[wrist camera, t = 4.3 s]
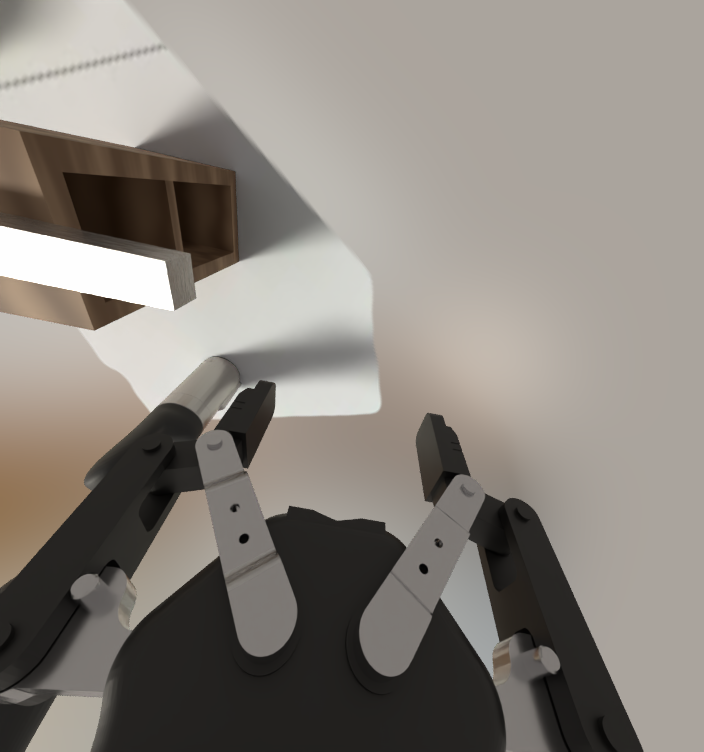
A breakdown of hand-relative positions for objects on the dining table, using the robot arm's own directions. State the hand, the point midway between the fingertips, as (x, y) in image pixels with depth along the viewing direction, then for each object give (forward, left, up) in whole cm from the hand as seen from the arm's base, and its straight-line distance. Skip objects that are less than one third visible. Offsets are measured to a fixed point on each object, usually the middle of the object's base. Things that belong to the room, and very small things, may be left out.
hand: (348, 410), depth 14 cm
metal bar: (+15, +22, -11) cm, 29 cm away
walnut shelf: (+17, +27, -43) cm, 53 cm away
